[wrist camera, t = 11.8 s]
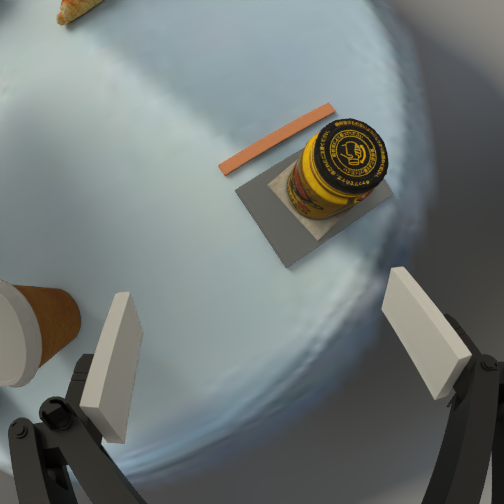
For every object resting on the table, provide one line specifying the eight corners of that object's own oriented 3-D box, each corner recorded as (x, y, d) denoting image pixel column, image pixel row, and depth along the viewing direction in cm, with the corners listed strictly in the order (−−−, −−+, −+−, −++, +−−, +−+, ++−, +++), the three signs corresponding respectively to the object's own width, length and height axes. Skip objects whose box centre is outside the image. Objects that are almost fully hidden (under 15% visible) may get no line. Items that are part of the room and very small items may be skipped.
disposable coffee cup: (88, 271, 31) (21, 276, 19) (99, 358, 31) (42, 398, 19) (23, 276, 31) (-47, 281, 19) (34, 354, 30) (-29, 383, 18)
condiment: (266, 185, 31) (281, 143, 19) (326, 135, 32) (365, 78, 20) (316, 241, 31) (360, 230, 19) (373, 187, 32) (433, 154, 20)
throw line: (218, 166, 32) (218, 165, 31) (327, 104, 32) (328, 102, 32) (225, 175, 32) (224, 174, 31) (334, 112, 32) (335, 110, 32)
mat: (235, 191, 32) (235, 190, 31) (344, 126, 32) (345, 124, 32) (285, 267, 32) (286, 267, 31) (390, 194, 32) (393, 193, 32)
